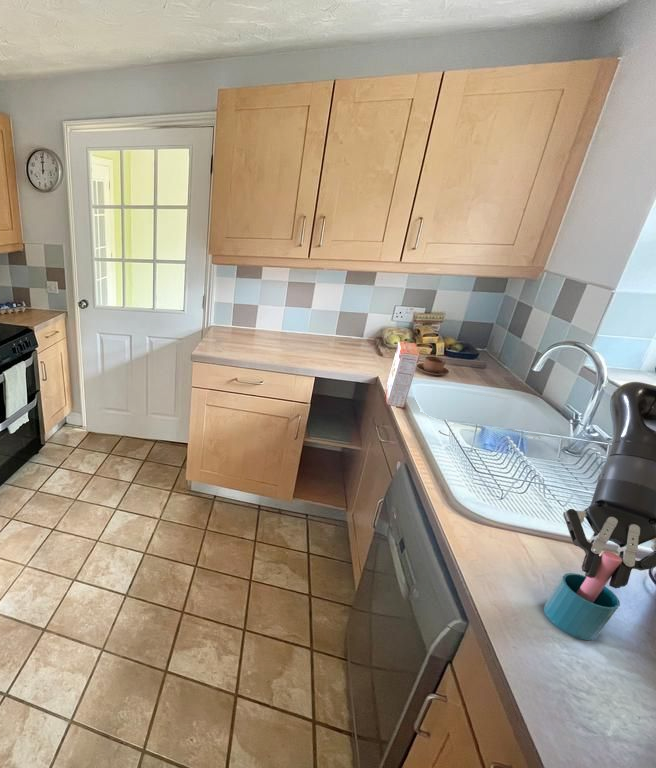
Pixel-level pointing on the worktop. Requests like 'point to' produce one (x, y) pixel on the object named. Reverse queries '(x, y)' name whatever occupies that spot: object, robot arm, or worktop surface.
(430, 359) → the cup and saucer
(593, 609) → the teal cup
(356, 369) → the worktop surface
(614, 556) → the pink cylinder
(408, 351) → the cracker box
